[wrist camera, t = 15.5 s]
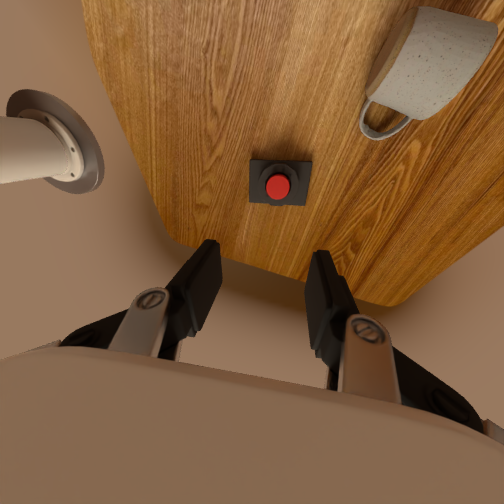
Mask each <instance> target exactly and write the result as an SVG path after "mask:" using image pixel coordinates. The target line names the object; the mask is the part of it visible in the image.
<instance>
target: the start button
mask: <svg viewBox="0 0 504 504" xmlns="http://www.w3.org/2000/svg"><path fill="white" fill-rule="evenodd" d="M266 191H267V193H268V195H269V196H270V197H271V198H273V199H282V198H284V197H285V196H286V195H287V194H288V192H289V180H288V179H287V177H286V176H284V175H283V174H275V175H273V176H271V177H270V178H269V180H268V182H267V185H266Z"/></svg>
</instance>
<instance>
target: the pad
mask: <svg viewBox="0 0 504 504" xmlns="http://www.w3.org/2000/svg"><path fill="white" fill-rule="evenodd" d="M312 163H313V162H312V161H289V160H261V159H251V160H250V176H249V202H253V203H268V204H270V205H273V206H283V205H298V206H305V203H306V197H307V192H308V186H309V180H310V174H311V169H312ZM275 174H283V175H284V176H286V177H287V179H288V180H289V192H288V194H287V195H286V196H285V197H284V198H282V199H273V198H271V197H270V196H269V195H268V193H267V191H266V185H267V182H268V180H269V178H270V177H271V176H273V175H275Z"/></svg>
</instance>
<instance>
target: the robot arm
mask: <svg viewBox="0 0 504 504" xmlns="http://www.w3.org/2000/svg"><path fill="white" fill-rule="evenodd" d="M83 170H84V160H83V155H82V152H81V150H80V147H79V145H78V143H77V141H76V140H75V138H74V137H73V135H72V134H71V133H70V131H69V130H68V129H67V128H66V127H65V126H64V125H63V124H62V123H61V122H60V121H59V120H58V119H56V118H55V117H54V116H52V115H50V114H49V113H47V112H44V111H41V110H36V109H25V110H22V111H21V112H20V113H19V114H18V116H17V118H14V117H2V116H0V184H1V183H8V182H14V181H21V180H28V179H34V178H41V177H48V176H50V177H52V178H54V179H56V180H59V181H64V182H70V181H75V180H77V179H79V178H80V177H81V176H82V173H83ZM221 284H222V267H221V255H220V244H219V243H217V242H216V240H211V239H206V240H205V241H204V242H203V243H202V244H201V246H200V247H199V248H198V249H197V251H196V252H195V253H194V254H193V255H192V257H191V258H190V259H189V260H187V262H186V263H185V264H184V265H183V266H182V268H181V269H180V270H179V271H178V273H177V274H176V275H175V276H174V277H173V279H172V280H171V281H170V282H169V283H168V285H167V286H166V287H165V288H161V287H156V288H151V289H148V290H145V291H143V292H142V293H140V294H139V295H138V296H136V298H135V299H134V300H133V302H132V304H131V306H130V308H129V309H127V310H124V311H122V312H119V313H117V314H114V315H111V316H109V317H106V318H104V319H101V320H99V321H96V322H93V323H91V324H89V325H86V326H84V327H81V328H79V329H77V330H75V331H74V332H72V333H71V334H69V335H68V336H67V337H66V338H65V339H64V340H63V341H62V342H61V340H57V341H54V342H52V343H49V344H46V345H43V346H41V347H37V348H35V349H32V350H29V351H26V352H24V353H20V354H17V355H13V356H10V357H7V358H4V359H1V360H0V504H504V429H502V428H501V427H499V426H498V425H496V424H495V423H493V422H492V421H490V420H489V419H487V420H485V421H483V420H482V419H480V417H479V415H478V414H477V412H476V411H475V410H474V408H473V407H472V406H471V405H470V404H469V402H468V401H467V400H466V399H465V398H464V397H463V396H461V395H460V394H459V393H458V392H456V391H455V390H454V389H452V388H451V387H450V386H448V385H446V384H445V383H444V382H443V381H441V380H440V379H438V378H437V377H436V376H434V375H433V374H431V373H430V372H428V371H427V370H426V369H424V368H423V367H421V366H420V365H419V364H417V363H416V362H414V361H413V360H411V359H410V358H409V357H407V356H406V355H404V354H403V353H402V352H400V351H399V350H397V349H396V348H394V347H393V346H392V343H391V337H390V335H389V332H388V331H387V329H386V328H385V327H384V326H383V325H382V324H381V323H380V322H379V321H377V320H376V319H374V318H372V317H369V316H367V315H363V314H360V313H359V311H358V308H357V306H356V304H355V301H354V299H353V296H352V294H351V292H350V289H349V287H348V285H347V282H346V280H345V278H344V276H340V275H338V273H337V270H336V268H335V265H334V263H333V260H332V257H331V255H330V252H329V251H328V250H317V252H313V255H312V259H311V263H310V268H309V272H308V276H307V281H306V286H305V292H304V295H305V303H306V312H307V320H308V329H309V337H310V346H311V349H313V350H315V355H316V358H322V361H323V362H324V363H325V364H326V365H327V370H326V377H325V384H324V389H321V388H316V387H311V386H306V385H300V384H295V383H290V382H285V381H279V380H274V379H268V378H263V377H258V376H253V375H247V374H242V373H236V372H231V371H225V370H220V369H215V368H209V367H204V366H199V365H193V364H188V363H182V362H179V357H180V352H181V346H182V340H183V339H184V338H186V337H187V336H189V337H195V335H196V333H197V331H200V330H201V329H202V327H203V324H204V322H205V320H206V318H207V315H208V313H209V311H210V309H211V307H212V304H213V302H214V300H215V297H216V295H217V293H218V291H219V289H220V287H221Z"/></svg>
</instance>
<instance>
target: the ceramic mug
mask: <svg viewBox="0 0 504 504" xmlns="http://www.w3.org/2000/svg"><path fill="white" fill-rule="evenodd" d="M497 35H498V27H497V25H496V24H495V23H492V22H488V21H484V20H479V19H476V18H472V17H468V16H464V15H460V14H456V13H452V12H448V11H444V10H441V9H438V8H434V7H429V6H417V7H413V8H411V9H410V10H408V11H407V12H406V13H405V14H404V15H403V16H402V17H401V19H400V20H399V21H398V23H397V24H396V26H395V27H394V29H393V30H392V32H391V34H390V35H389V37H388V39H387V40H386V42H385V44H384V46H383V48H382V49H381V51H380V53H379V55H378V57H377V59H376V61H375V63H374V65H373V67H372V70H371V72H370V74H369V77H368V79H367V83H366V86H365V93H366V96H367V97H368V99H367V100H366V102H365V103H364V105H363V108H362V110H361V113H360V118H359V125H360V129H361V132H362V133H363V134H364V135H365V136H366V137H368V138H370V139H373V140H382V139H385V138H387V137H390V136H392V135H394V134H395V133H397V132H398V131H399V130H401V129H402V128H403V127H404V126H405V125H407V124H408V123H409V122H410V121H411V120H412V119H417V120H424V119H427V118H429V117H431V116H432V115H434V114H435V113H437V112H438V111H440V110H441V109H442V108H443V107H444V106H445V105H447V104H448V103H449V102H450V101H451V100H452V99H453V98H454V97H455V96H456V95H457V94H458V93H459V92H460V91H461V90H462V88H463V87H464V86H465V85H466V84H467V83H468V82H469V80H470V79H471V78H472V77H473V75H474V74H475V73H476V72H477V70H478V69H479V68H480V66H481V65H482V63H483V62H484V60H485V59H486V57H487V55H488V54H489V52H490V50H491V49H492V47H493V45H494V43H495V41H496V38H497ZM372 101H374V102H376V103H379V104H381V105H384V106H387V107H389V108H392V109H394V110H396V111H398V112H400V113H403V114H405V115H407V116H406V117H405V118H404V119H403V120H402V121H401V122H400V123H399V124H397V125H396V126H395V127H393V128H392V129H390V130H388V131H387V132H384V133H377V132H376V131H374V130H372V129H370V128H369V126H368V125H365V124H364V123H363V120H364V115H365V113H366V110H367V108H368V106H369V104H370V103H371V102H372Z"/></svg>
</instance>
